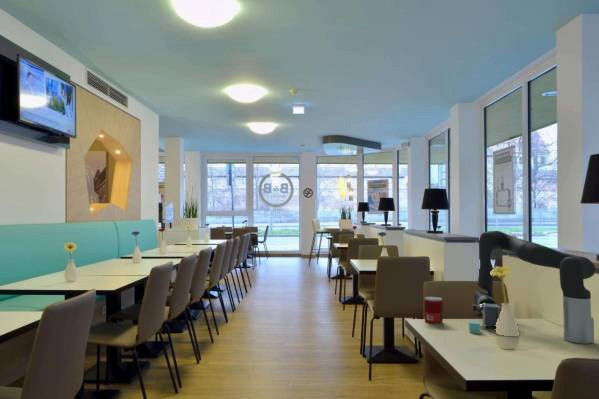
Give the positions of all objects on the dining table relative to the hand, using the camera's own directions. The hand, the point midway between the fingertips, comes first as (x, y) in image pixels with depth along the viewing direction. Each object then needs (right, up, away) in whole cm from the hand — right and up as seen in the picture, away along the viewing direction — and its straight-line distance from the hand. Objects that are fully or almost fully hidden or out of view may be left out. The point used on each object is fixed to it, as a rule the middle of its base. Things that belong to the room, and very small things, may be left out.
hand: (491, 311), depth 180 cm
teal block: (-9, -7, -5) cm, 13 cm away
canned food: (-22, -8, +11) cm, 26 cm away
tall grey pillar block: (+1, -8, +1) cm, 8 cm away
